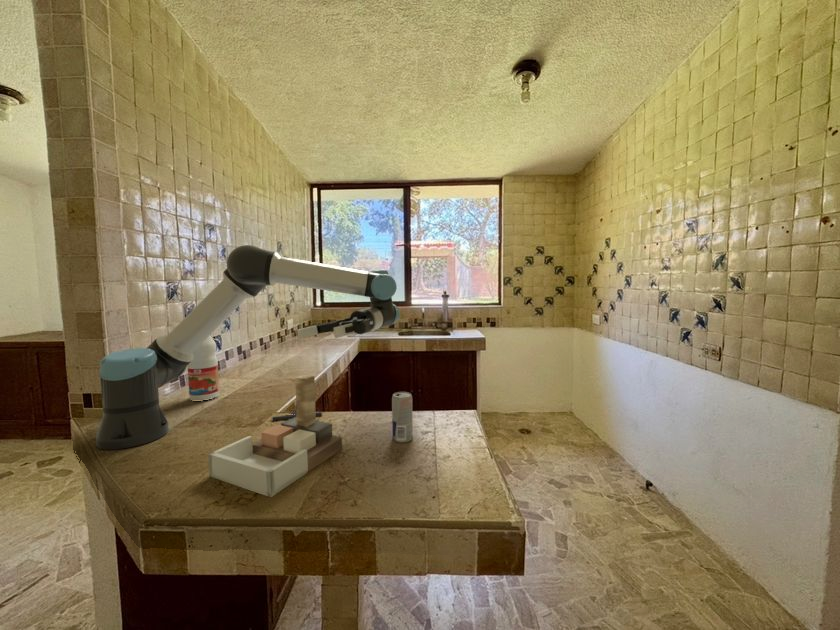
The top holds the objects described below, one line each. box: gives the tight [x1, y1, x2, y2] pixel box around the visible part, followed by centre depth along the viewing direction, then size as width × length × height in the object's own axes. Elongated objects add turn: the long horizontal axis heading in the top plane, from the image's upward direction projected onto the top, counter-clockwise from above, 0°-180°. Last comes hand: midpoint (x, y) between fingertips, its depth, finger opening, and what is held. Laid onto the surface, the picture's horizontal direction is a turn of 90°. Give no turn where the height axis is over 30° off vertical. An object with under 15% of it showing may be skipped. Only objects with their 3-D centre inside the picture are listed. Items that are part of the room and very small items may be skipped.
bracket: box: [272, 409, 323, 422], centre depth 114 cm, size 14×15×3 cm
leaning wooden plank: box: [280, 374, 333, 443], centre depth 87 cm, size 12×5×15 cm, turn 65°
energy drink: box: [391, 391, 414, 444], centre depth 92 cm, size 5×5×12 cm
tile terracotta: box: [261, 424, 293, 448], centre depth 83 cm, size 5×5×3 cm
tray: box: [208, 435, 309, 498], centre depth 74 cm, size 18×10×5 cm, turn 65°
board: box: [252, 434, 343, 473], centre depth 84 cm, size 18×12×3 cm, turn 65°
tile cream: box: [283, 429, 316, 453], centre depth 81 cm, size 5×5×3 cm
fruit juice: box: [187, 334, 220, 401], centre depth 127 cm, size 9×9×28 cm
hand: (316, 333), depth 92 cm, fingers open, 13 cm apart
